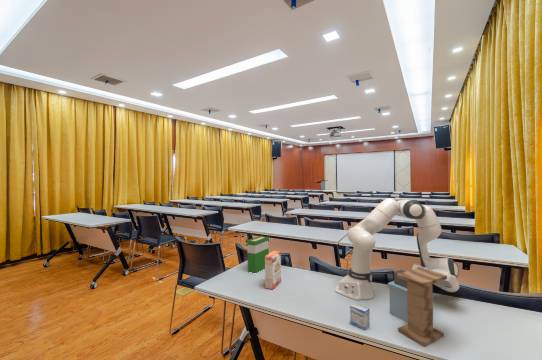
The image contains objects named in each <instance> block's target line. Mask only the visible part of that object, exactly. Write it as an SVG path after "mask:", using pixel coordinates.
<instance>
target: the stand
mask: <svg viewBox="0 0 542 360" xmlns="http://www.w3.org/2000/svg"><path fill="white" fill-rule="evenodd" d="M405 271H406V272H402V273H399V274H397V278H400V279H402V280H405V281H407V305H408V323H406V324H405V325H402V326H398V327H397V332H398V333H400V334H401V335H403V336H405V337H406V338H408V339H410V340H412V341H414V342H415V343H417V344H419V345H420V346H422V347H424V348H425V347H427V346H428V345H431V344H432V343H434V342H436V341H438V340H440V339H442V338H445V333H444V332H442V331H441V330H439V329H437V328H435V327H434V306H433V305H434V302H433V301H434V299H433V285H434V283H437V282H440V281H443V280H446V279H447V276H446V275H443V274H440V273H437V272H434V271H430V270H427V269H424V268H421V267H420V268H416V269H413V270H412V269H410V270H405Z"/></svg>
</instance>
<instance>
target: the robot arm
mask: <svg viewBox="0 0 542 360" xmlns="http://www.w3.org/2000/svg"><path fill="white" fill-rule="evenodd" d="M395 216H399V217H402V218H404V219H409V220H410V219H411V220H415V221H416V224H417V227H418V233H417V234H416V244H417V249H418V254H419V258H420V259H419V261H420V265H418V264H413V265H412V268H411V270H413V269H416V268H420V267H421V268H424V269H427V270H430V271H434V272H437V273H440V274H443V275H446V276H447V279H446V280H443V281H440V282H437V283H434V284H433V285H434V286H436V287H438V288H440V289H442V290H443V291H446V292H448V293H456V292H457V291H458V290H459V289H460V284H459V281H458V276H459V272H460V271H459V266H458V264H457V262H455V261H454V260H453V259H452V258H450V257H435V258H434V257H430V254H429V249H428V243H430V242H432V241H434V240H436V239H438V237H440V235H441V234H442V230H443V229H442V226H441V224H440V221H439V219H438V216H437V215H436V213H435V211H434V210H433V208H432V207H430V206H428V205H422V204H421V202H419V201H416V200H415V199H414V200H411V199H407V198H406V199H397V200H395V199H393V198H391V197H390V198H389V197H388V198H385V199H384V200H382V201H380V203H379V204H378V205H376V206H375V208H374V209H372V211H371V212H370V213H369V214H368V215H367V216H366V217H365V218H364V219H362V220H360V221H359V222H358V223H357V224H355V225H354V226H352V227H350V228H349V229H348V230H347V238H348V241H349V243H352V245H353V250H352V254H351V257H350V267H349V269H348V270H347V274H346V275H345V276H343V277H342V278H341V279H340V280H339V283H338V284H337V286H336V287H335V288H334V292H335V293H338V294H339V295H342V296H344V297H347V298H350V299H352V300H354V301H361V300H370V299H371V300H372V299H373V298H375V293H374V289H373V284H372V283H373V282H372V281H373V273H372V263H371V262H372V261H371V260H372V254H373V249H374V248H375V246H376V240H375V238H374V236H373V235H375V234H376V233H378V232H381V231H382V230H383V229H384V228H385V227H386V226H387V225H388V224H389V223H390V222H391V221H392V220H393V219H394V217H395Z"/></svg>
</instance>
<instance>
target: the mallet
mask: <svg viewBox="0 0 542 360" xmlns="http://www.w3.org/2000/svg"><path fill="white" fill-rule="evenodd" d="M406 271H407V270H405V269H402V268H401V269H398V270H396V271H393V281H394V284H397V285H399V286H402V287H405V288H407V281H405V280H402V279H400V278H397V274H399V273H402V272H406Z"/></svg>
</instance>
